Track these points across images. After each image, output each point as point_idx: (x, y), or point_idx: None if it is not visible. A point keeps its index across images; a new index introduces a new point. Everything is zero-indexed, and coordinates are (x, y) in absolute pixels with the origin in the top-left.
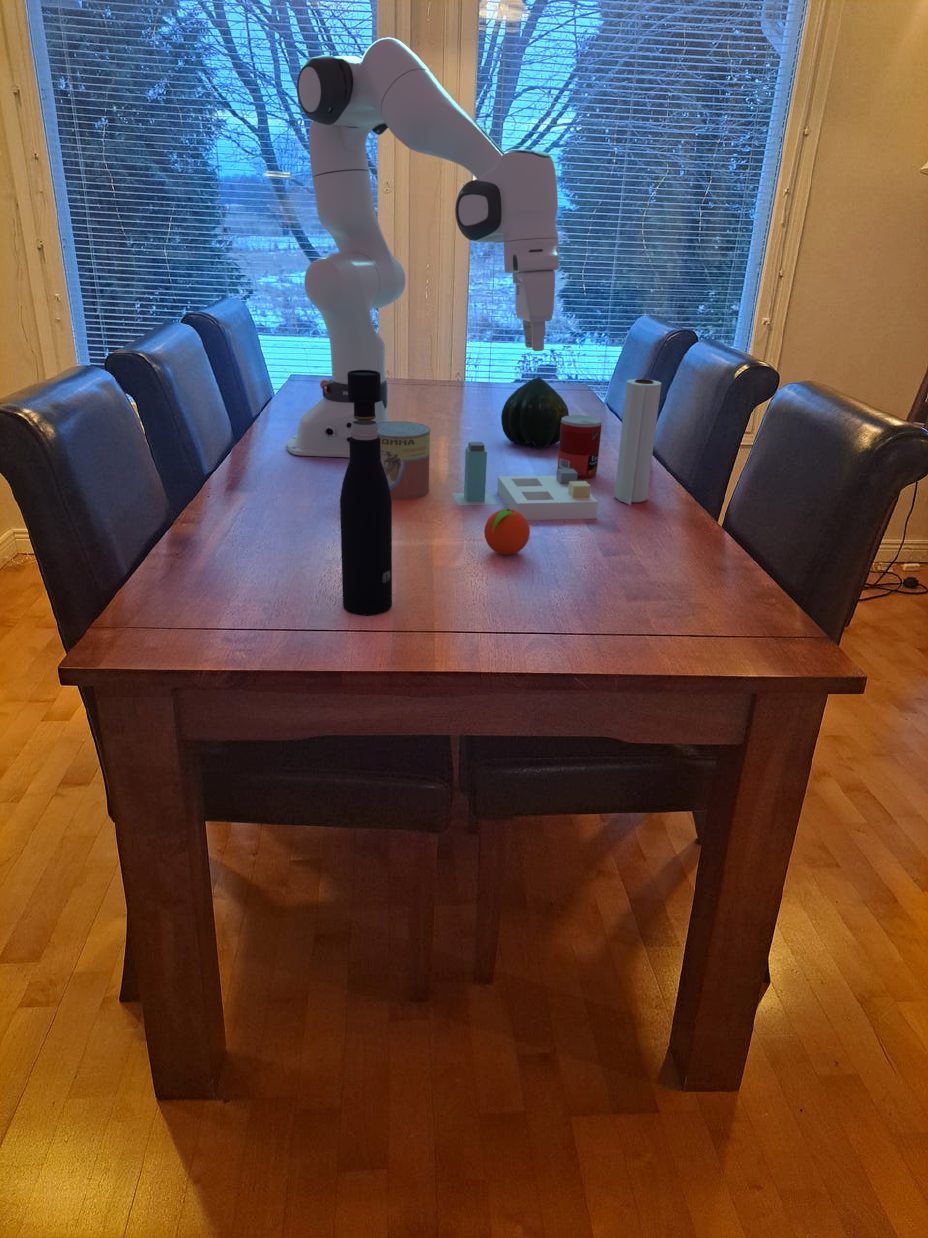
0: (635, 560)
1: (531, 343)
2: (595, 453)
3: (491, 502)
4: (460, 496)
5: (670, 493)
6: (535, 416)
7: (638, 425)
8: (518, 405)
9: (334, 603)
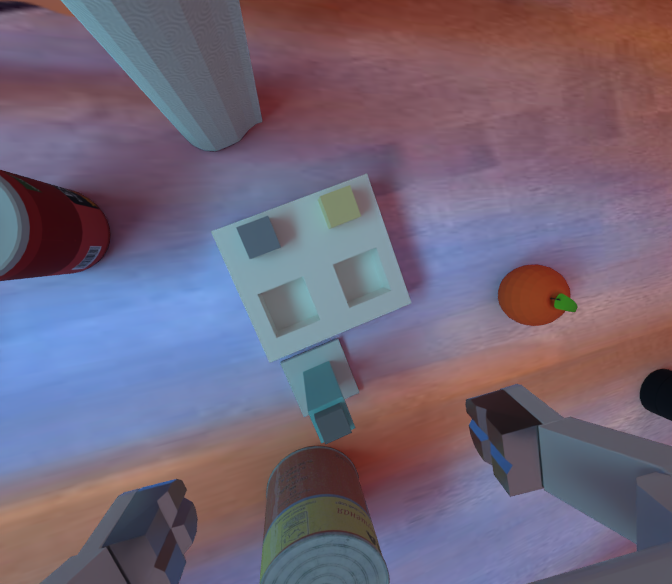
0: (502, 122)
1: (175, 517)
2: (52, 186)
3: (330, 350)
4: None
5: None
6: None
7: (232, 22)
8: None
9: (657, 419)
